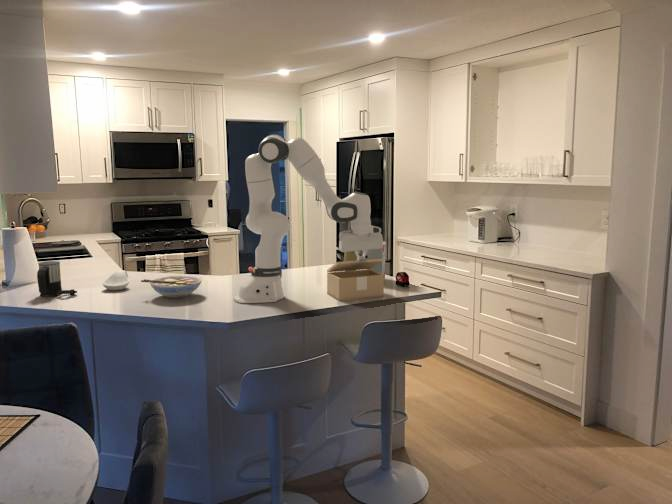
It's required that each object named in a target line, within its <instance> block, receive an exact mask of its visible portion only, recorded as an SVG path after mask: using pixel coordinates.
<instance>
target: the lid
mask: <svg viewBox="0 0 672 504" xmlns="http://www.w3.org/2000/svg"><path fill="white" fill-rule="evenodd" d="M382 261H383V259H372V260H367V259H365V260H360V261H358V260H355V261H344V260H343V261H337V262H335V263H334V264H333V265H332V266H330V267H329V268H328V269H327V270H326V271H327V272H326V273H330V272H343V271H350V270H367V269H371V268H373V267H374V266H376V265H377V264H379V263H380V262H382Z"/></svg>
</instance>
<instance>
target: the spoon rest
mask: <svg viewBox="0 0 672 504" xmlns="http://www.w3.org/2000/svg"><path fill="white" fill-rule="evenodd" d="M129 283H130V279H129V275H128V272H127V271H126V270H121V269H120V270H119V269H118V270H116V271H115V272H113V273H112V275H110V276H109V277H107V278H106V279H105V280H104V281H102V286H103V287H104V288H105V289H106V290H108V291H111V292H112V291H113V292H116V291H122V290H124V289H125V288H127V287H128V286H129Z"/></svg>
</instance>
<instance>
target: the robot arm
mask: <svg viewBox="0 0 672 504" xmlns="http://www.w3.org/2000/svg"><path fill="white" fill-rule="evenodd" d="M286 160H287V161H289V163H291V165H292V167H293V168H294V169H295V172H297V173H298V174H299V176H300V177H301V178H302V179H303V180H304V181H305V182H306V183H308V184H309V185H311V187H312V188H313V189H314V190H315V191H316V193H317V194H318V195H319V197H320V199H321V200H322V201H323V203H324V205H325V209H326V214H327V216H328V217H329V218H330V219H331V220H333V221H335V222H336V223H339V224H345V223H347V222H350V229H347V230H342V231H340V232H339V234H338V239H339V241H338V250H339V251H340V252H342V253H345V252H348V251H355V254H356V255H357V260H358V261H360V260H366V256H367V255H368V250H371V249H381V248H382V247H383V242H384V238H383V234H382V228H381V227H379V226H375V225H372V220H371V213H372V212H371V211H372V208H371V199H370V196H369V195H368V194H367V193H363V192H357V191H354V192H352V193H350V194H349V195H348V196H346V197H344V198H340V197H339V196H338V195H337V194H336V193H335V192H334V191H335V190H333V188H332V187H331V185H330V184H329V182H328V181H327V179H326V174H325V173H326V171H325V167H324V164H323V162H322V161H321V160H322V159H320V156H319V155H318V154H317V152H316V151H315V150H314V148H313V147H312V146H311V145H310V144H309V143H308V142H307V141H306V140H305V139H304V138H303V137H294V138H292V139H290V140H288V141H287V140H286V139H285V137H283V136H282V135H281V134H276V133H274V134H270V135H267V136H266V137H263V140H261V141H260V143H259V145H258V153H253V154H251V155H249V156H247V157H246V159H245V161H244V165H245V166H244V168H245V169H244V171H245V179H246V186H247V190H248V197H249V207H248V213H247V215H246V218H245V225H246V228H247V229H248V230H250V231H251V232H252V233H254V234H256V235H260V241H259V243H258V245H257V247H256V248H255V255H254V256H255V261H254V262H255V266H254V267H253V266H249V267H248V271H249V272H250V273H251V274H250V276H248V277H247V278H246V279H244V280H243V282H241V283H240V284H239V287H238V293H236V294H234V295H233V300H234V301H235V302H236V303H240V304H259V303H260V304H261V303H275V302H278V301H279V300H282V299H284V298H285V294H284V290H283V286H282V285H283V284H282V278H283V277H282V276H283V271H282V266H281V248H282V244H283V240H284V238H285V236H286V235H287V234H288V233H289V231H290V227H291V223H290V220H289V218H288V216H287V215H285V214H282V212H278V211H273V210H272V203H273V200H274V199H275V196H276V192H275V186H274V181H273V175H272V164H276V163H279V162H282V161H286ZM361 251H362V255H360V252H361Z"/></svg>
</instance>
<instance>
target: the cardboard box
mask: <svg viewBox="0 0 672 504" xmlns="http://www.w3.org/2000/svg"><path fill="white" fill-rule="evenodd" d="M326 274H327V275H326V279H327V281H326V283H327V284H326V292H327V293H326V294H327V295H328V296H330V297H331V298H333V299H335V300H336V301H338V302H341V301H354V300H362V299H364V300H365V299H373V298H383V297H384V289H385V286H384V284H385V279H384V275H383V274H380V273H378V272H375V271H373V270H371V269H368V270H367V269H363V270H356V271H337V272H326Z"/></svg>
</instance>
